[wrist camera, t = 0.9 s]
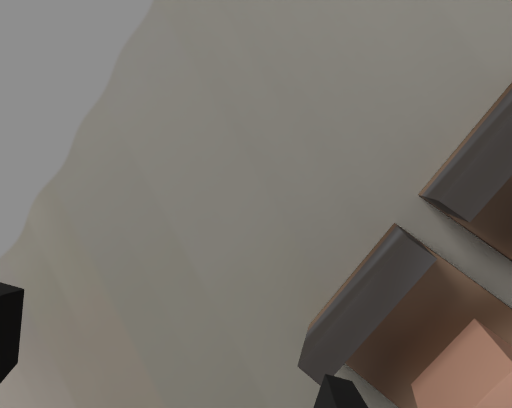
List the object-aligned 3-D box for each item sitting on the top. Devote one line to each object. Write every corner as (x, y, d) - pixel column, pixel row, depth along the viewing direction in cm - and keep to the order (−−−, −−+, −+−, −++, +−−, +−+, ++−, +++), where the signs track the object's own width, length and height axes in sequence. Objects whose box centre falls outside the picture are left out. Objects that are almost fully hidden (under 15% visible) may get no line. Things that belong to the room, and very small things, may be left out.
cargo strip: (590, 366, 19) (673, 432, 14) (481, 466, 20) (521, 555, 16) (394, 222, 21) (407, 237, 16) (309, 325, 22) (297, 366, 18)
